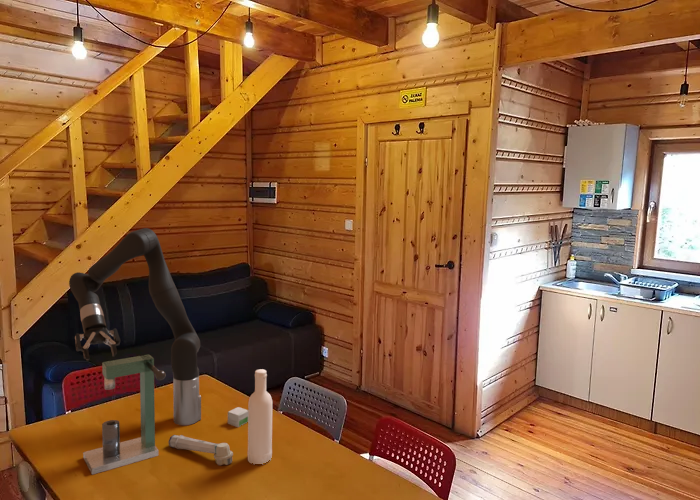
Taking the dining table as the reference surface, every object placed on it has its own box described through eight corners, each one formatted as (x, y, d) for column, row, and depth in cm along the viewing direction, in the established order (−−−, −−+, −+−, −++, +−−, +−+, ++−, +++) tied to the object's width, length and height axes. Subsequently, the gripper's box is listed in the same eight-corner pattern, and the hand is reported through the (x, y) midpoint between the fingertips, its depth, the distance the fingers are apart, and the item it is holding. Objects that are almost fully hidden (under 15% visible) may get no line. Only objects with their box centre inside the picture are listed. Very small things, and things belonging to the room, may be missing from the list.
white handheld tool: (177, 431, 178) (234, 439, 166) (179, 450, 178) (237, 459, 167) (166, 438, 173) (224, 446, 162) (168, 457, 173) (226, 466, 162)
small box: (238, 427, 190) (238, 415, 189) (227, 423, 193) (227, 411, 192) (248, 422, 195) (249, 410, 194) (237, 418, 198) (237, 406, 197)
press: (147, 440, 178) (145, 351, 174) (167, 467, 162) (166, 369, 158) (83, 458, 165) (80, 362, 162) (99, 488, 149) (96, 382, 146)
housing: (117, 448, 169) (116, 417, 168) (121, 453, 165) (121, 422, 164) (101, 452, 165) (100, 421, 164) (105, 458, 162) (104, 426, 161)
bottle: (276, 455, 171) (277, 368, 167) (264, 467, 163) (266, 376, 160) (255, 451, 173) (255, 365, 170) (242, 462, 166) (243, 373, 163)
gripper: (72, 315, 182) (80, 355, 174) (115, 311, 191) (124, 348, 183) (69, 327, 186) (77, 366, 179) (111, 321, 195) (120, 359, 188)
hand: (101, 357), depth 181 cm, fingers open, 8 cm apart
